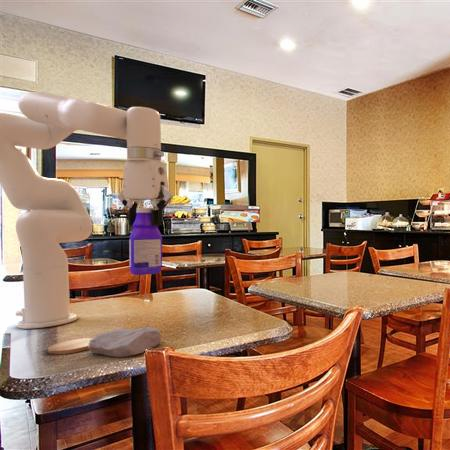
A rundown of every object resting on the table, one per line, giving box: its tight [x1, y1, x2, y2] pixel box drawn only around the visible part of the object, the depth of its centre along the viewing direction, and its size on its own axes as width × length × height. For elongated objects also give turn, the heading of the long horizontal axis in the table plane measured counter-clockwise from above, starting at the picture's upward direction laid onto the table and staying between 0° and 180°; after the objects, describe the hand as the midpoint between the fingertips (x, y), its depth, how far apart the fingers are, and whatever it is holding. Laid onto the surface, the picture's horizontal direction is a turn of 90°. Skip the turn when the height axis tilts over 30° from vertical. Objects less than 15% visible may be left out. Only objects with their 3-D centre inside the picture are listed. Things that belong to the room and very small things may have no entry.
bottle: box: [128, 207, 163, 276], centre depth 107 cm, size 7×6×17 cm
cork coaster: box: [47, 337, 94, 355], centre depth 91 cm, size 9×9×1 cm
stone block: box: [87, 326, 162, 358], centre depth 89 cm, size 12×5×10 cm
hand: (145, 224), depth 107 cm, fingers closed on bottle, 5 cm apart
